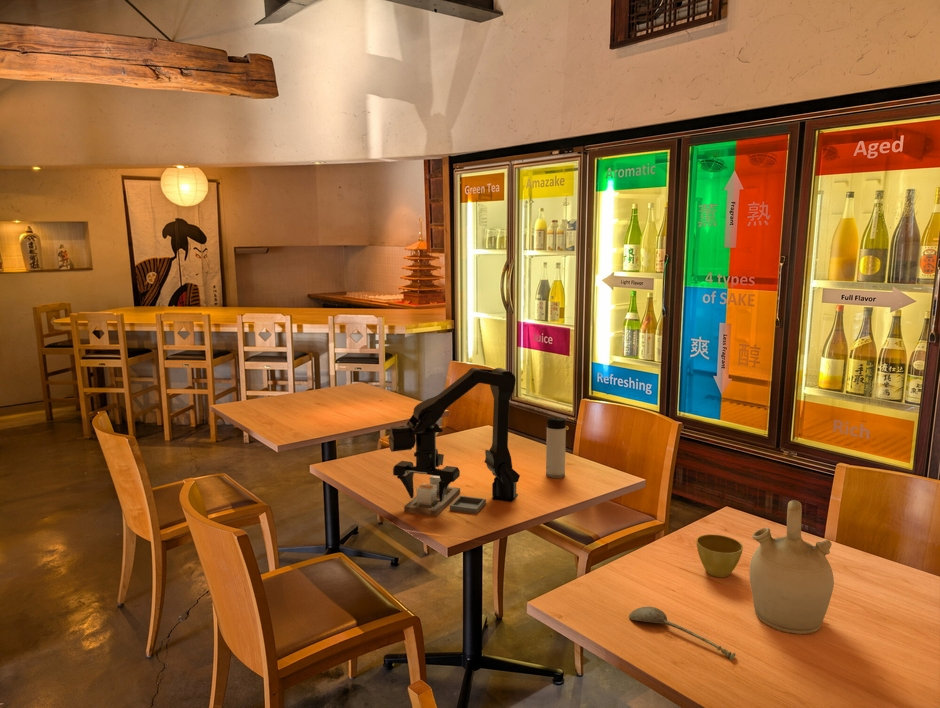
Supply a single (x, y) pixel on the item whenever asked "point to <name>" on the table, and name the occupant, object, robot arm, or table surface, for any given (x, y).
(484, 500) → the grey tray
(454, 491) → the grey flat frame
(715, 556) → the flower pot
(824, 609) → the jug
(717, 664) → the table surface
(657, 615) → the soupspoon
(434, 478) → the block
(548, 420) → the travel mug
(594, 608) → the table surface
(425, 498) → the block
